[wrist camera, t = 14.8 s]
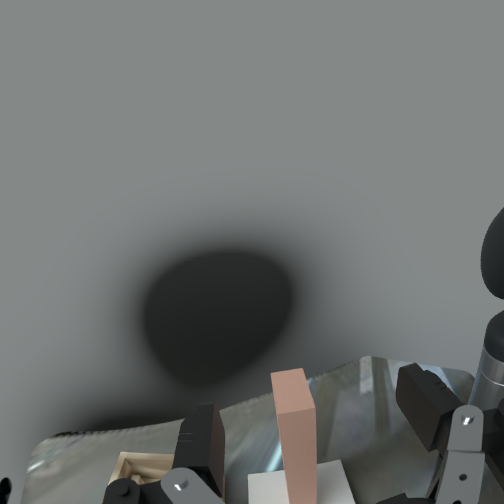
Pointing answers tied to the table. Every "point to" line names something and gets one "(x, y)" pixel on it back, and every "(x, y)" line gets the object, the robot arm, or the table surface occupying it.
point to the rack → (145, 468)
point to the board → (297, 434)
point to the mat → (275, 489)
